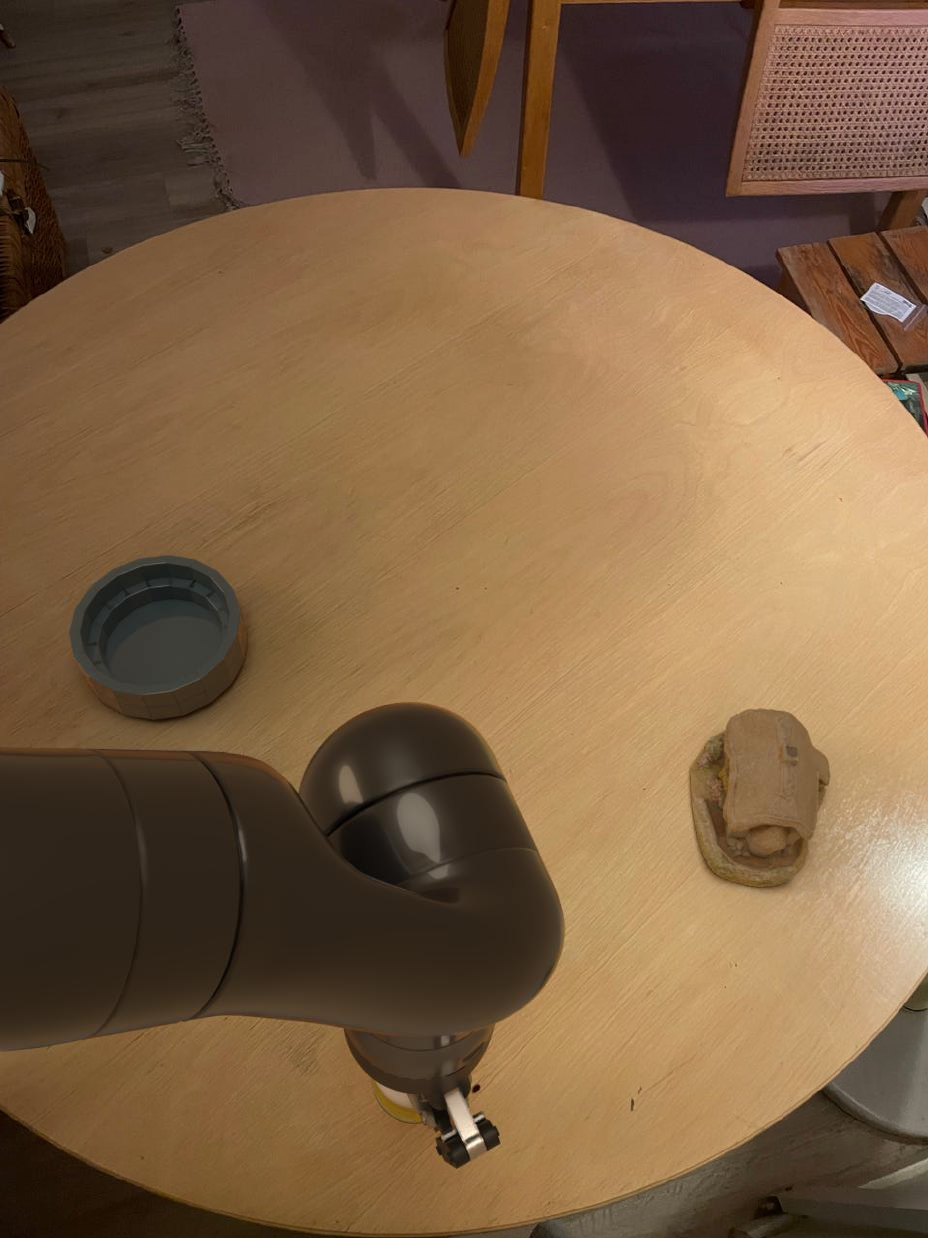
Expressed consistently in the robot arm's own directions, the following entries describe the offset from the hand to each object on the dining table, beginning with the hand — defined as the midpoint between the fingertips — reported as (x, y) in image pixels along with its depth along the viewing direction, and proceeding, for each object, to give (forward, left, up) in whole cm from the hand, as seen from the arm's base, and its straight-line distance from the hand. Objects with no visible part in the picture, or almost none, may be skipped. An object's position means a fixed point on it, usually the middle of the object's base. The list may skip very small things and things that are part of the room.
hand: (416, 1062), depth 62 cm
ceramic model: (+33, +11, -12) cm, 37 cm away
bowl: (-9, +41, -12) cm, 44 cm away
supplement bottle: (0, 0, -6) cm, 6 cm away
